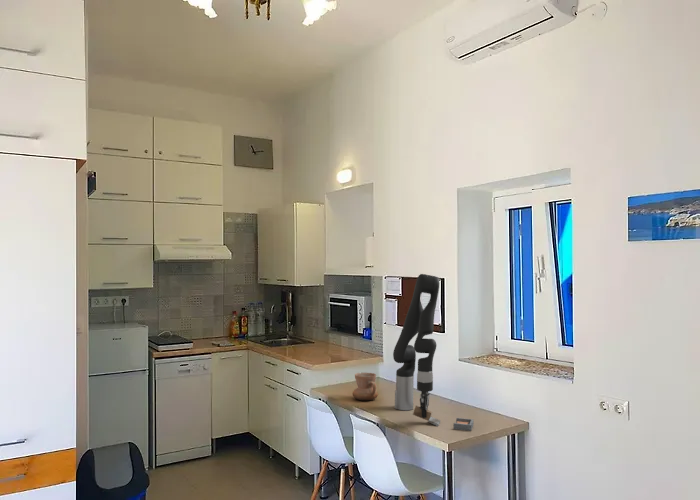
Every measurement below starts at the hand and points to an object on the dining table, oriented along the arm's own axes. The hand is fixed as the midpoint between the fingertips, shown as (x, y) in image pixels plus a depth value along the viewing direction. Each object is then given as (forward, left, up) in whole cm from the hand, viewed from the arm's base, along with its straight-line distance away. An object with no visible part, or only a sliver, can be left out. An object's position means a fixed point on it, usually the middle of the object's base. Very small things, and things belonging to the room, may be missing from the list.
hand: (424, 416), depth 262 cm
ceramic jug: (-40, +36, -3) cm, 54 cm away
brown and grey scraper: (+1, 0, -1) cm, 1 cm away
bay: (+18, 0, -3) cm, 18 cm away
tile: (+18, 0, -3) cm, 18 cm away
